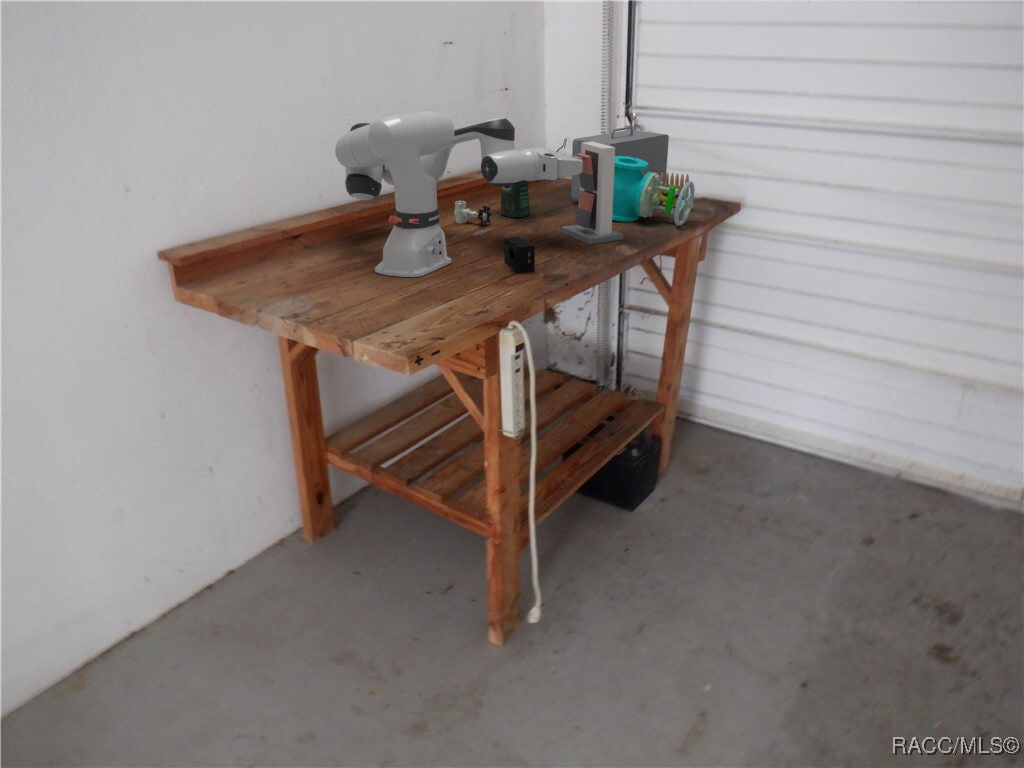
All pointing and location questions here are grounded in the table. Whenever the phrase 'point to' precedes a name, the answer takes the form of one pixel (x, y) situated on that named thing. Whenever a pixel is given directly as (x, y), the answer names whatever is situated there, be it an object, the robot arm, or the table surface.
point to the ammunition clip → (664, 193)
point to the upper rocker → (586, 173)
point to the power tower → (598, 197)
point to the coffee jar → (515, 199)
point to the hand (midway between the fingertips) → (579, 159)
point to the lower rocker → (584, 209)
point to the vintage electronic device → (628, 150)
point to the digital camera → (519, 254)
